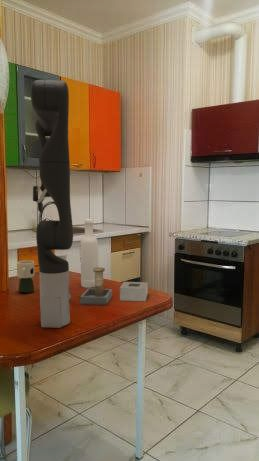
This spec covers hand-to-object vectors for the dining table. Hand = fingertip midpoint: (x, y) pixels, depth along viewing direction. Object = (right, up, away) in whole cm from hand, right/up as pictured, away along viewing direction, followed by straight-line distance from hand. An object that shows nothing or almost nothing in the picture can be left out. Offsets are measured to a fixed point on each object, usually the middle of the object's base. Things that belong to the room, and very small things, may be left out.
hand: (51, 212), depth 146 cm
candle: (0, -33, +18) cm, 37 cm away
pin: (+19, -34, -1) cm, 39 cm away
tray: (+18, -34, -1) cm, 39 cm away
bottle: (+13, -32, +22) cm, 41 cm away
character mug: (-13, -33, +12) cm, 38 cm away
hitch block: (+32, -34, +3) cm, 47 cm away
